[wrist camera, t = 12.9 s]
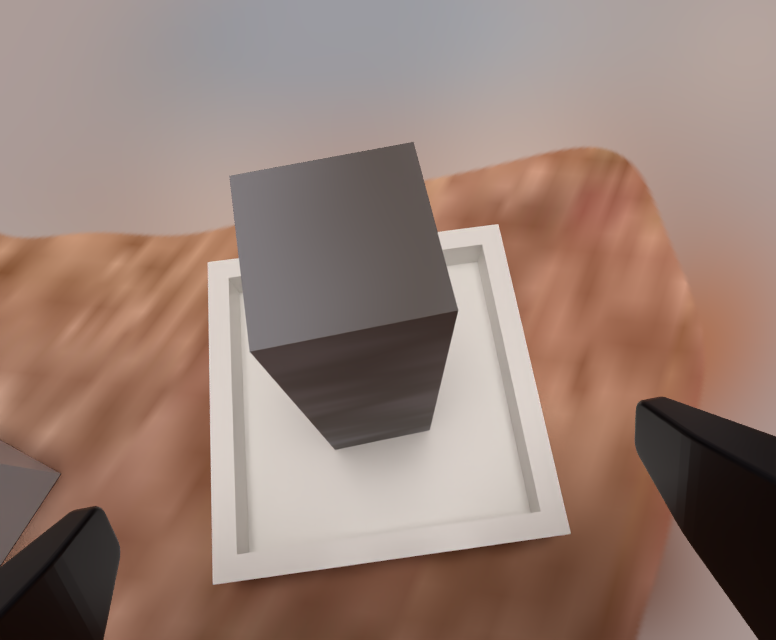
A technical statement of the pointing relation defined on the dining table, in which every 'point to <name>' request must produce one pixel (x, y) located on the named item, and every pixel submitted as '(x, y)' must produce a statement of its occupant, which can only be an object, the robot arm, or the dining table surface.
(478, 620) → the dining table surface
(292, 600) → the dining table surface
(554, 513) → the tray
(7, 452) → the square frame
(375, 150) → the dark grey pillar
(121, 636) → the dining table surface
